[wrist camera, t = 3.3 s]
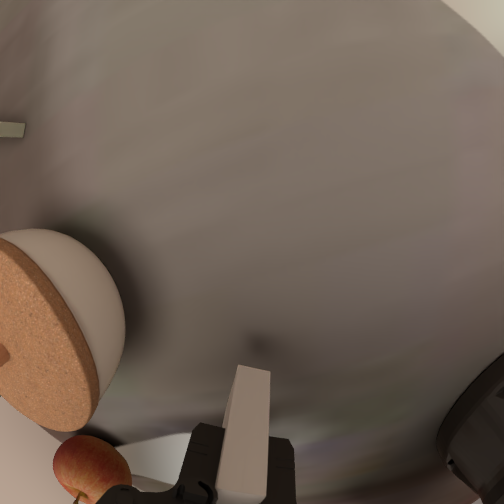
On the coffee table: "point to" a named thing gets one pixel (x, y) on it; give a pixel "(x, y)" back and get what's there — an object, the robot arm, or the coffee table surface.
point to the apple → (89, 468)
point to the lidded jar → (56, 328)
